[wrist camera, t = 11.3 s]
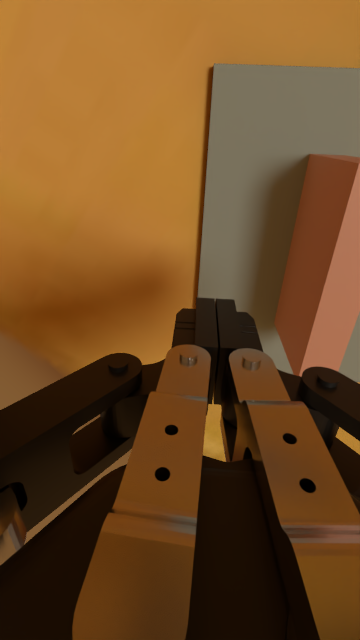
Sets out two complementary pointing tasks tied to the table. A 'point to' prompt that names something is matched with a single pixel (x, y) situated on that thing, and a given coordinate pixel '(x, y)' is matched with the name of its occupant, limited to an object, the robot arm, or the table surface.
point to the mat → (269, 182)
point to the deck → (322, 266)
